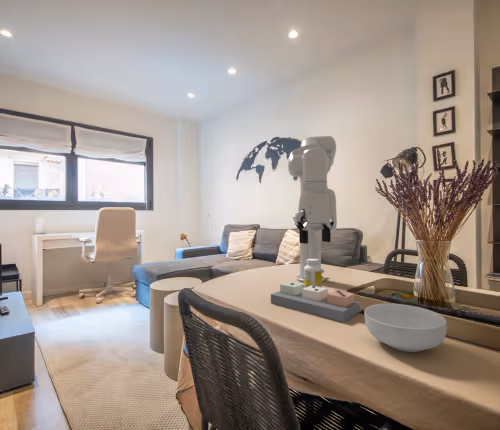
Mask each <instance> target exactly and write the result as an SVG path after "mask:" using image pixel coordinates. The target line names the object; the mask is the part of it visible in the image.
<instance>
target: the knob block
mask: <svg viewBox="0 0 500 430" xmlns="http://www.w3.org/2000/svg"><path fill="white" fill-rule="evenodd" d="M303 288H304V283H300V282H295V281H287V282H284V283H280V285H279V289H280V290H279V291H280V293H283V294H287V295H292V296H297V295H300V294H302V289H303Z"/></svg>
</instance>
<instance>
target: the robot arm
mask: <svg viewBox="0 0 500 430" xmlns="http://www.w3.org/2000/svg"><path fill="white" fill-rule="evenodd" d="M336 143H337V142H336V140H335V138H334V137H333V136H331V135H325V136H324V135H323V136H308V137H306V138H304V139H303V140H302V141H301V143H300V147H298V148H295V149H294V150H292V151H291V152H290V154H289V157H288V162H287V166H288V167H287V168H288V172H289V175H291V176H292V177H296V178H299V180H300V181H299V182H300V196H299V200H298V201H299V202H298V210H297V211H298V212H297V213H296V214H294V215H293V216H292V219H293V221H294V222H293V223H294V226H296V228H297V230H298V234H299V236H298V237H299V275H297V276H296V280H297V281H299V282H302V283H304V267H305V266H307V259H318V260H319V264H318V266H320V267H321V269H322V274H324V273H325V269H324V268H322V244H321V242H324V243H330V242H331V233H334V232H335V231H336V230H337V227H338V225H337V224H338V221H337V220H338V219H337V199H336V198H337V197H336V196H337V195H336V192H335V191H334V190H333V189H331V188H329V186H328V174H329V172H330V171H331V167H332V166H333V164H334V161H335V156H336V154H337V144H336ZM316 233H321V239H320V238H319V237H318V235H316ZM325 279H326V278H325V277H324V276H323V275H322V283H323V282H324V281H325Z"/></svg>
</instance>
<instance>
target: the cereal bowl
mask: <svg viewBox="0 0 500 430" xmlns="http://www.w3.org/2000/svg"><path fill="white" fill-rule="evenodd" d="M364 321H365V322H364V323H365V327H366V328H367V330H368V331H369V333H370V334H371V335H372V336H373V338H375V339H377V340H378V341H380V342H381V343H383V344H386V345H387V346H389V347H390V348H392V349H395V350H398V351H401V352H407V353H418V352H422V351H424V350H430V349H433V348H435V347H437V346H438V347H439V345H441V343H442V342H443V341H444V340H445V338H446V335H447V328H448V327H447V326H448V324H447V320H446V318H445V317H444V315H441V314H440V313H438V312H436V311H433V310H430V309H427V308H423V307H421V306H415V305H409V304H403V303H378V304H377V303H376V304H372V305H369V306H367V307H366V308H365V309H364Z"/></svg>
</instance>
